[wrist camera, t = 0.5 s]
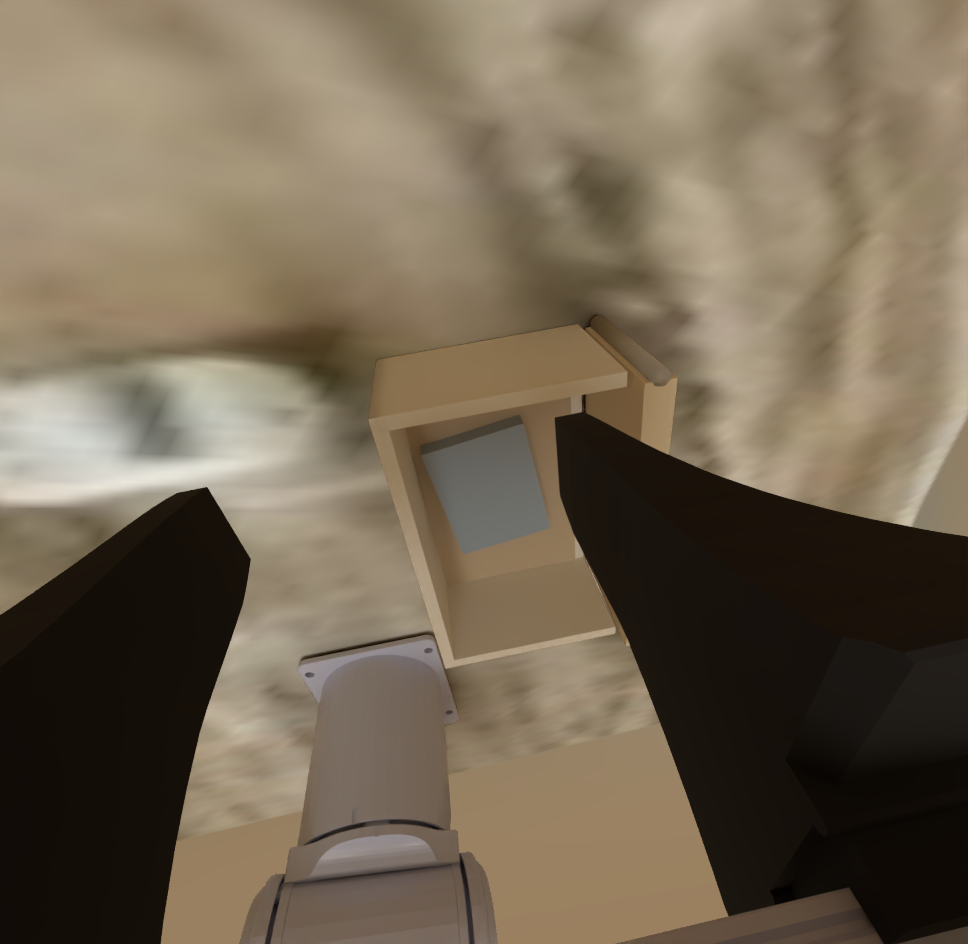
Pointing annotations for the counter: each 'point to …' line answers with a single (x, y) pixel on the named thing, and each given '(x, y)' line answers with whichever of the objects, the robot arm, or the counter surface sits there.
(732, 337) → the counter surface
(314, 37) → the counter surface
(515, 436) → the booklet
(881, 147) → the counter surface
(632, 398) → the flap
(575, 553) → the carton
